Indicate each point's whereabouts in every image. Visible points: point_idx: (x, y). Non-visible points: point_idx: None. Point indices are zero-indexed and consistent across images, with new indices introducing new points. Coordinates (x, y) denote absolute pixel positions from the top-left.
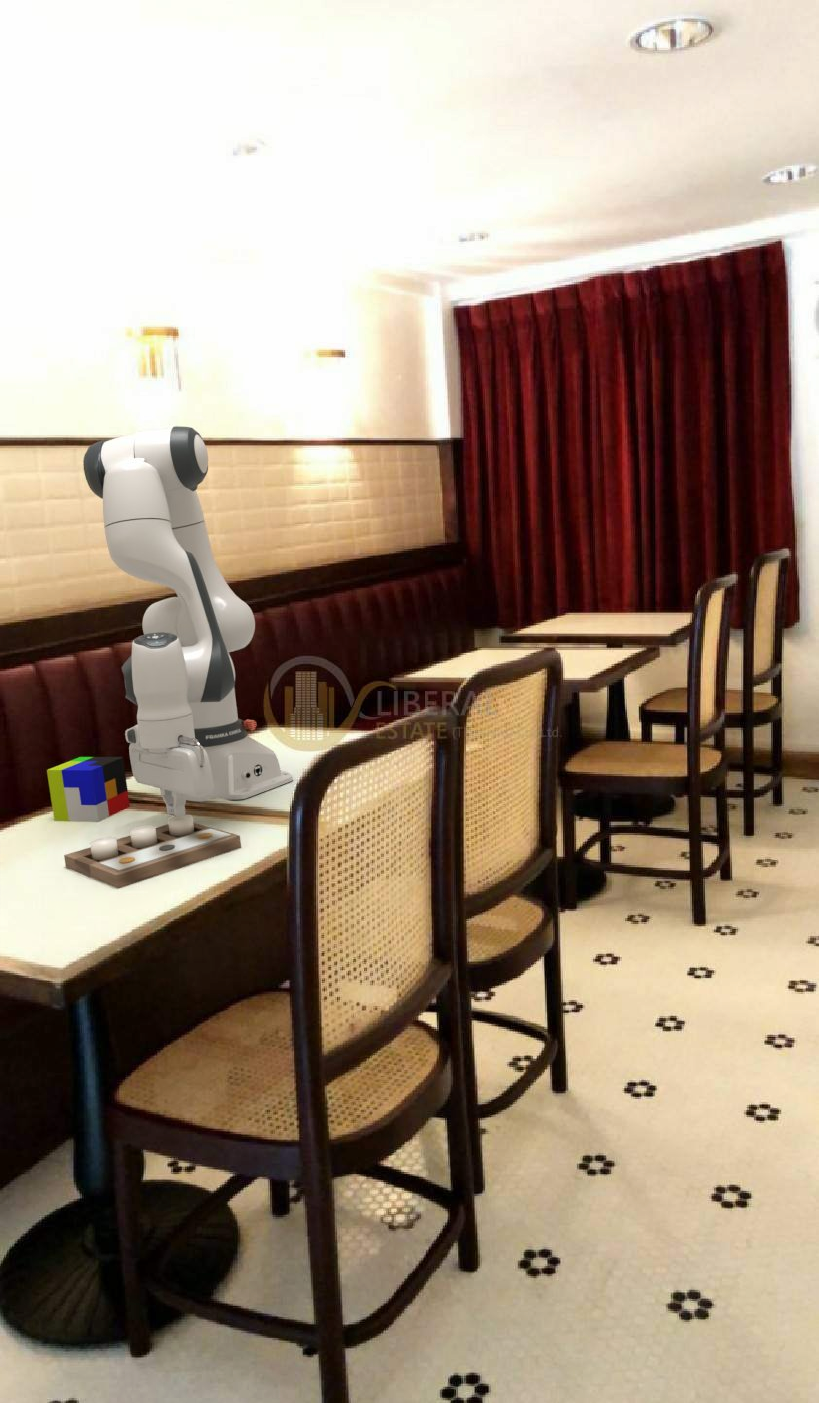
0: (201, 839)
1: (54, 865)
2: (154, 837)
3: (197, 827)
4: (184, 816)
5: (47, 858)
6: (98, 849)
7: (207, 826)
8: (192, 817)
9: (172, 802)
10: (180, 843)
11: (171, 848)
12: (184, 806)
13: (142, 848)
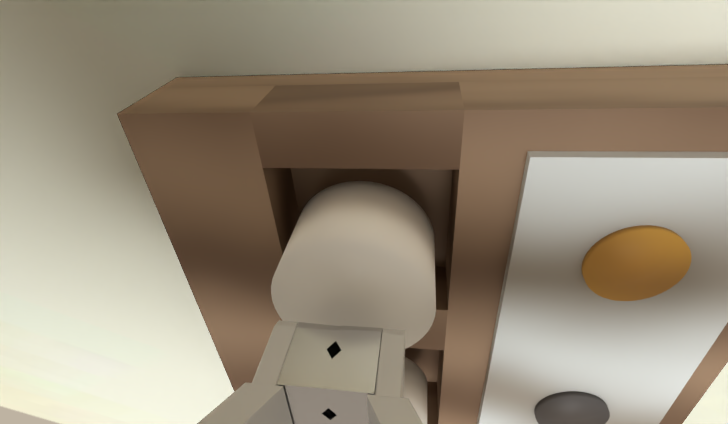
0: (655, 298)
1: (200, 420)
2: (422, 400)
3: (379, 163)
4: (339, 277)
5: (124, 404)
6: None
7: (423, 112)
8: (406, 257)
9: (281, 420)
10: (579, 365)
11: (609, 417)
12: (401, 383)
13: (440, 418)
